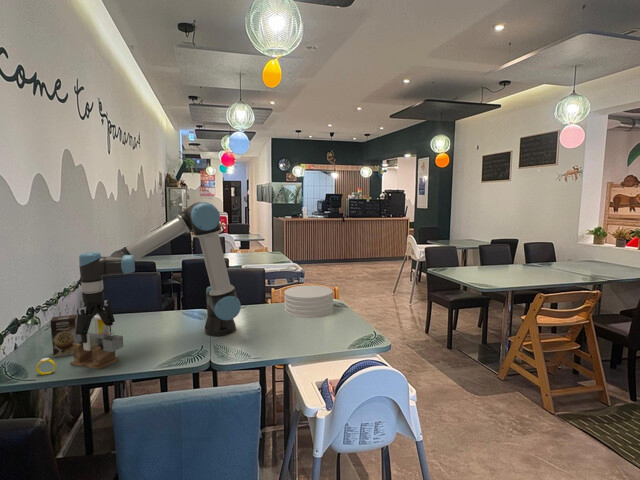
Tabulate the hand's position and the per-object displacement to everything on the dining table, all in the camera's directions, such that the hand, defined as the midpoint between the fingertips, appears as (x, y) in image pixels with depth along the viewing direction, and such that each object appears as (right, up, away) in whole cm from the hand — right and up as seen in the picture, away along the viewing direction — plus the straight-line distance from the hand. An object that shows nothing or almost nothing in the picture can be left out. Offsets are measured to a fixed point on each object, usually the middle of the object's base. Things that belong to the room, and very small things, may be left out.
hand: (97, 345), depth 158 cm
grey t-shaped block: (0, 0, 0) cm, 1 cm away
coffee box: (-20, -7, +11) cm, 24 cm away
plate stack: (+84, +2, +68) cm, 108 cm away
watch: (-15, -9, -8) cm, 19 cm away
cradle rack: (-2, -7, +2) cm, 8 cm away
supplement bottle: (-16, -4, +33) cm, 37 cm away
